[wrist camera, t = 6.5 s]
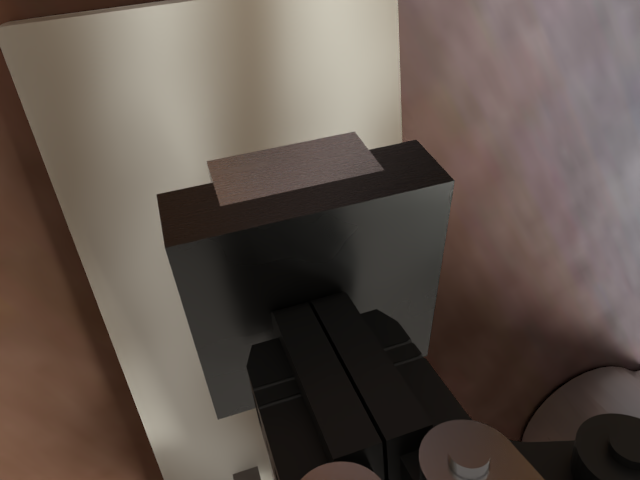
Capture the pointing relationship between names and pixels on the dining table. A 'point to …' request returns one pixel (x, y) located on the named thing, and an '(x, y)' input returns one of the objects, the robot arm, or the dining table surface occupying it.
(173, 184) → the press base
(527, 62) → the dining table surface
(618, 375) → the robot arm
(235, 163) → the lever
